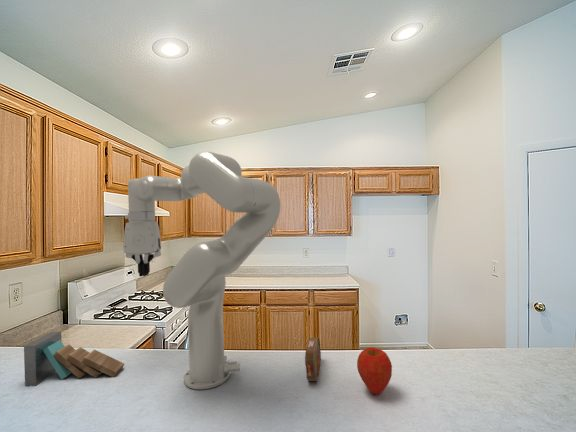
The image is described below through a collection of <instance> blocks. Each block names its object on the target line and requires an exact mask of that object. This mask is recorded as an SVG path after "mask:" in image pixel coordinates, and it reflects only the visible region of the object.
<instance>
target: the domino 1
mask: <svg viewBox="0 0 576 432" xmlns="http://www.w3.org/2000/svg"><path fill="white" fill-rule="evenodd" d="M61 341H62V339H61V340H59V341H57V342H55V343H54V344H52V345H50V346H48V347H47V348H45V349H43V352H44V353H45V355H46V356H47V358H48V359H49V361H50V362H51V364H52V366H53V367H54V369H55V370H56V372H55V373H57V375H58V377H59V379H60V380H64V379H65V378H67V377H68V376H70V374H73V373H72V372H71V371H70V370H69V369H67V368H66V367H65V366H64V365H63V364H62V363H61V362H59V361H58V360H57V359H56V358H55V357H54V356H53V355H54V354H55V353H56V352H57V351H58V350H60V349H62V348H63V347H65V346H66V345H64V344H63V342H61Z"/></svg>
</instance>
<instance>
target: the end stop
mask: <svg viewBox="0 0 576 432" xmlns="http://www.w3.org/2000/svg"><path fill="white" fill-rule="evenodd" d="M59 340H61V342H62V331H51V332H49V333H47V334H45V335H43V336H41V337H39V338H37V339H35V340H33V341H31V342H29V343H27V344H25V345H23V359H24V360H23V361H24V362H23V363H24V364H23V365H24V386H25V387H34V386H38V385H40V384H41V383H42V382H44V381H45V380H47V379H48V378H49V377H51V376H52V375H53V374H55V373H57V372H56V370H55V369H54V367H53V366H52V364H51V362H50V361H49V359H48V358H47V356H46V355H45V353H44V352H43V349H45V348H47V347H48V346H50V345H52V344H54V343H55V342H57V341H59ZM62 343H63V342H62Z"/></svg>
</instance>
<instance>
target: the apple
mask: <svg viewBox="0 0 576 432" xmlns="http://www.w3.org/2000/svg"><path fill="white" fill-rule="evenodd" d="M356 363H357V364H356V369H357V372H358V374H359V376H360V378H361V381H362V382H363V384H364V385H365V387H366V388H367V389H368V390H369V391H370V393H372V394H373V395H381V393H383V391H384V390H385V389H386V388H387V387H388V385H389V383H390V381H391V378H392V375H393V372H392V371H393V369H392V368H393V365H392V362H391V359H390V357H389V355H388V354H387V353H386V352H385V351H384V350H382V349H380V348H377V347H376V348H375V347H367V348H364V349H363V350H361V352H360V353H359V354H358V357H357V362H356Z"/></svg>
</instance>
